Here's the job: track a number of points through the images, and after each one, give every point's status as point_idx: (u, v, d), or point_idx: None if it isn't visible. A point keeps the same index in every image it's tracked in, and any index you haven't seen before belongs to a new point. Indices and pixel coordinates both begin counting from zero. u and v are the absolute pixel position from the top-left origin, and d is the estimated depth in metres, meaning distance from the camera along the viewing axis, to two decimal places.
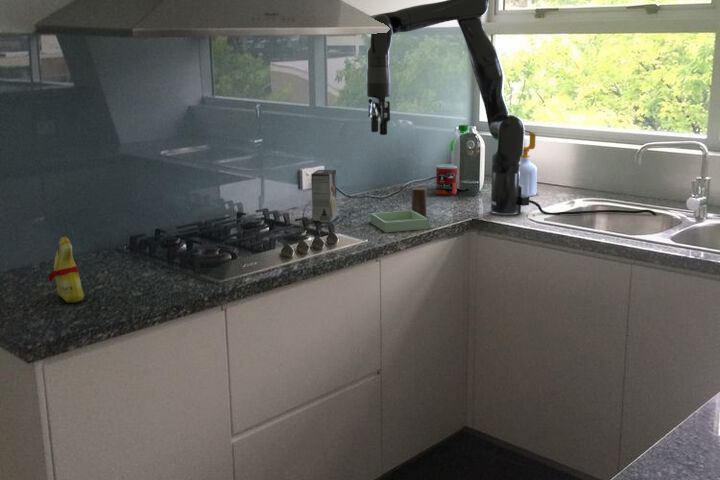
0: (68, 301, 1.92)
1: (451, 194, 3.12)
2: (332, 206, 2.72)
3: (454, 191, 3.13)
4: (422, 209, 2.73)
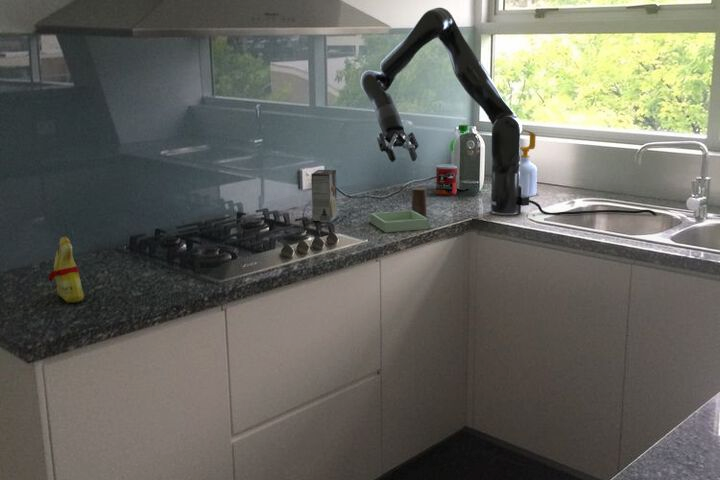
0: (68, 301, 1.92)
1: (451, 194, 3.12)
2: (332, 206, 2.72)
3: (454, 191, 3.13)
4: (422, 209, 2.73)
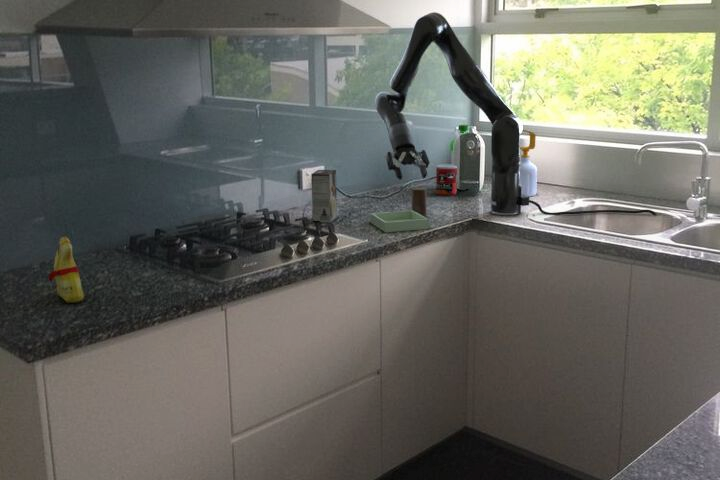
0: (68, 301, 1.92)
1: (451, 194, 3.12)
2: (332, 206, 2.72)
3: (454, 191, 3.13)
4: (422, 209, 2.73)
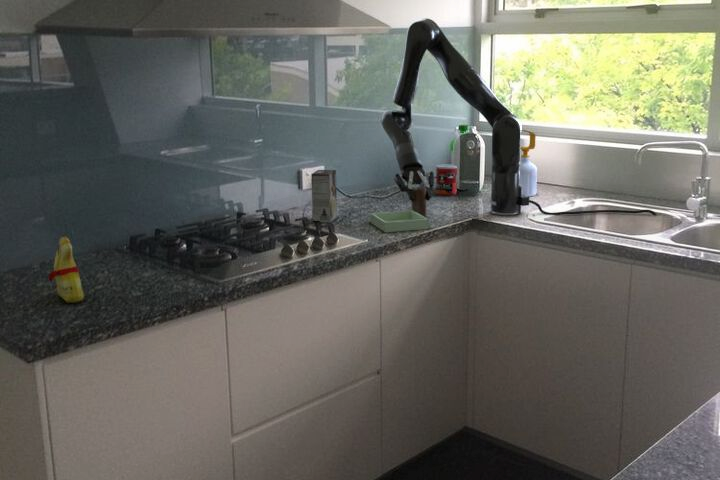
0: (68, 301, 1.92)
1: (451, 194, 3.12)
2: (332, 206, 2.72)
3: (454, 191, 3.13)
4: (422, 209, 2.73)
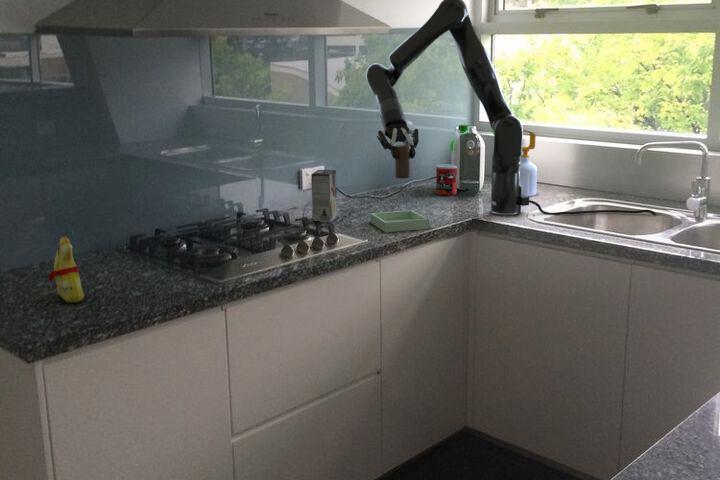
0: (68, 301, 1.92)
1: (451, 194, 3.12)
2: (332, 206, 2.72)
3: (454, 191, 3.13)
4: (405, 167, 2.61)
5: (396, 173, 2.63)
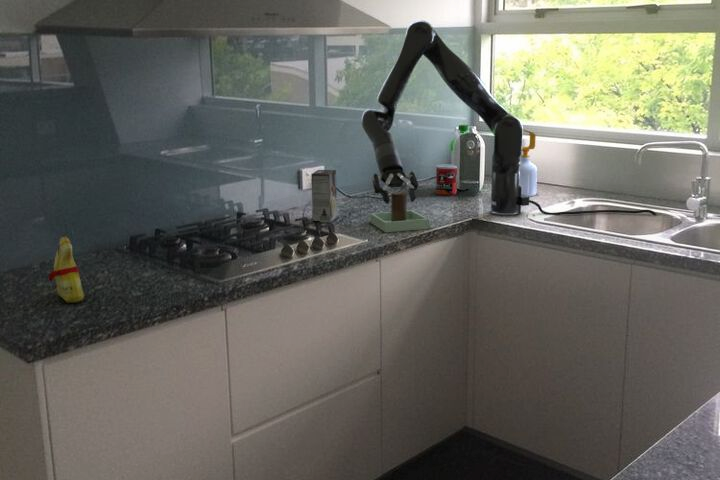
0: (68, 301, 1.92)
1: (451, 194, 3.12)
2: (332, 206, 2.72)
3: (454, 191, 3.13)
4: (401, 215, 2.63)
5: (392, 220, 2.64)
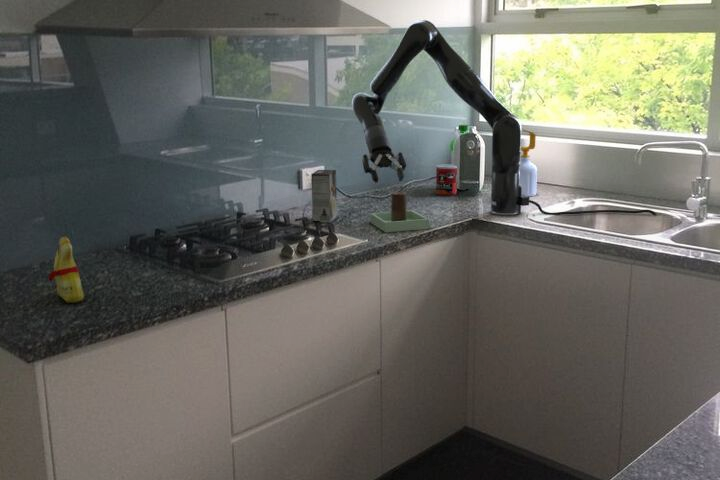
0: (68, 301, 1.92)
1: (451, 194, 3.12)
2: (332, 206, 2.72)
3: (454, 191, 3.13)
4: (401, 215, 2.63)
5: (392, 220, 2.64)
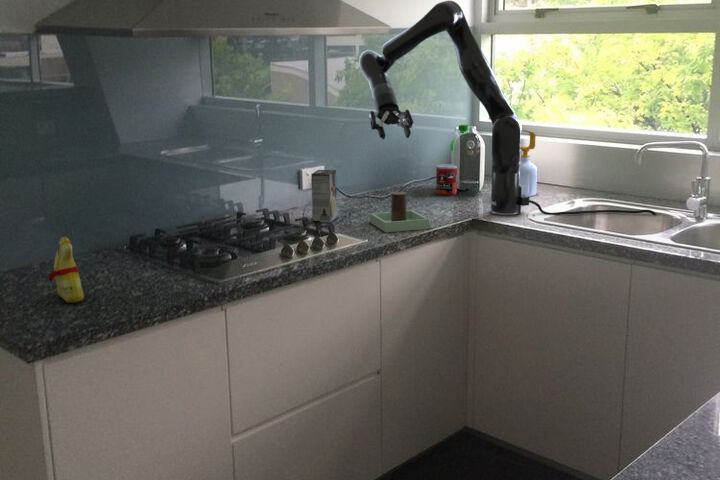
0: (68, 301, 1.92)
1: (451, 194, 3.12)
2: (332, 206, 2.72)
3: (454, 191, 3.13)
4: (401, 215, 2.63)
5: (392, 220, 2.64)
